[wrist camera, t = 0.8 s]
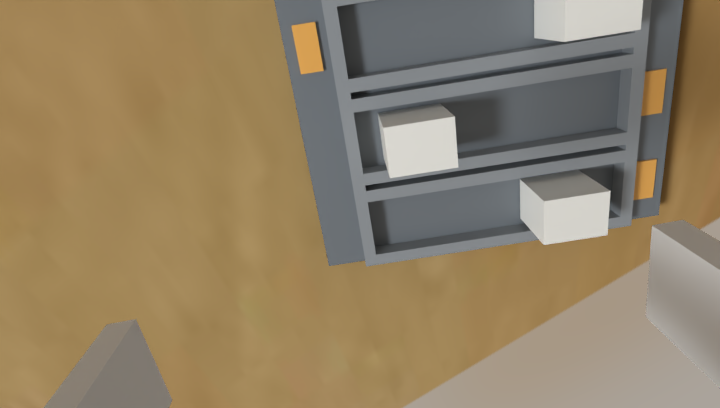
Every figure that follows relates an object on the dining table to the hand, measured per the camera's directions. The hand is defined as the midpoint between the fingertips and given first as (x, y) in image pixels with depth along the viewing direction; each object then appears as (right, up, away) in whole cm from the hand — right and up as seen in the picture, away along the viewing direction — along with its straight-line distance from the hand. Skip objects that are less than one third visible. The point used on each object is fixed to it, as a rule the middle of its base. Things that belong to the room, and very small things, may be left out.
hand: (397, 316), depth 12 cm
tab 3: (+12, +4, +20) cm, 24 cm away
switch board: (+7, +9, +19) cm, 22 cm away
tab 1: (+2, +8, +18) cm, 19 cm away
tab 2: (+11, +15, +15) cm, 24 cm away
